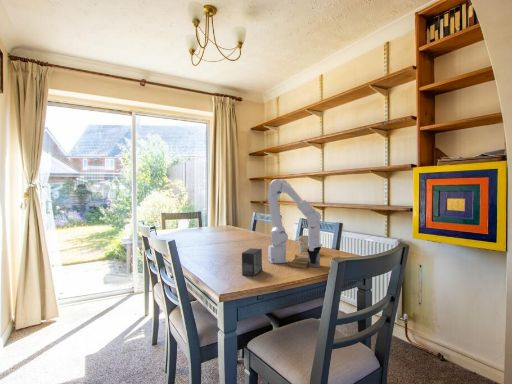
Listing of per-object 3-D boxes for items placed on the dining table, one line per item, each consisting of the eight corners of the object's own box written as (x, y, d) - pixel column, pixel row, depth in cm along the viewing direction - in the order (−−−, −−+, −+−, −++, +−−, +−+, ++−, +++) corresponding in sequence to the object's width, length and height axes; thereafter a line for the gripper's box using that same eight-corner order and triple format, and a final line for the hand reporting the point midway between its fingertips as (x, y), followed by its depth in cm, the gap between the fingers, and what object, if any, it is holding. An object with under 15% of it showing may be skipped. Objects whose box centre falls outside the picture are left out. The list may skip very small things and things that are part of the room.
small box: (250, 269, 141) (249, 247, 141) (262, 270, 139) (262, 248, 138) (241, 275, 131) (241, 252, 131) (254, 276, 129) (254, 253, 129)
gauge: (318, 267, 143) (318, 255, 143) (294, 265, 147) (293, 253, 147) (320, 265, 146) (319, 253, 146) (295, 263, 151) (295, 251, 151)
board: (306, 267, 142) (306, 263, 142) (290, 266, 145) (290, 262, 145) (315, 256, 164) (315, 253, 164) (301, 255, 167) (301, 252, 167)
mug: (295, 252, 174) (294, 236, 174) (309, 250, 182) (309, 234, 182) (305, 255, 168) (305, 238, 168) (319, 252, 175) (319, 236, 175)
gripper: (319, 238, 137) (319, 266, 137) (324, 233, 150) (324, 259, 151) (304, 237, 140) (305, 265, 140) (310, 233, 153) (311, 258, 153)
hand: (314, 262), depth 145 cm, fingers closed on gauge, 4 cm apart
